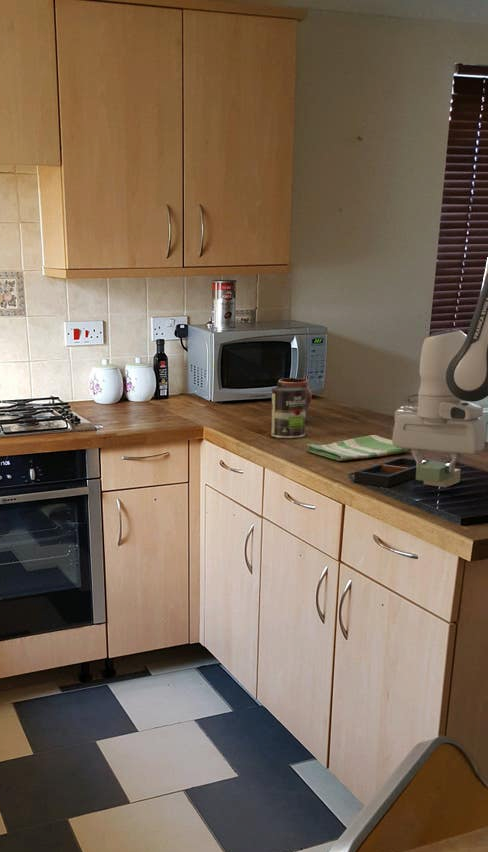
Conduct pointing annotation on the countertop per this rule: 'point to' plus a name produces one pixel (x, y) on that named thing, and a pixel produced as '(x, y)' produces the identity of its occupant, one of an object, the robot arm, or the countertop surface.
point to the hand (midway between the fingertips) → (435, 470)
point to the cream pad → (447, 482)
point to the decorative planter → (297, 383)
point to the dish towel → (357, 448)
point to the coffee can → (288, 412)
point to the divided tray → (388, 472)
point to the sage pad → (432, 472)
